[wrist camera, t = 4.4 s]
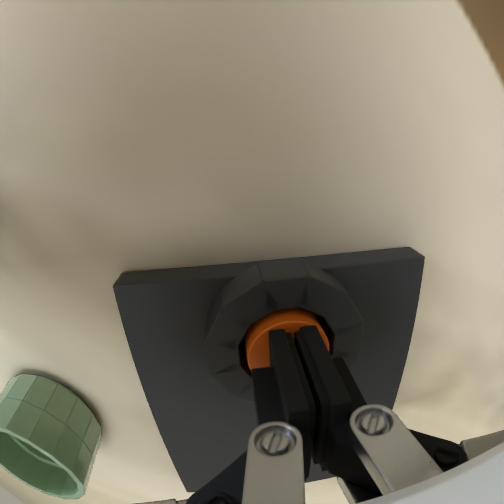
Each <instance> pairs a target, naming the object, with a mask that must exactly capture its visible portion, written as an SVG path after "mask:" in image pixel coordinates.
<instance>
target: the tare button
mask: <svg viewBox="0 0 504 504" xmlns="http://www.w3.org/2000/svg"><path fill="white" fill-rule="evenodd" d="M312 325H316V327H317V328H318V331H319V333H320V335H321V337H322V339H323V341H324V343H325V345H326V347H327V349H328V351H329V342H328V339H327V336H326V335H325V333H324V331H323V329H322V327H321V325H320V323H319V321H318V319H317V317H316V315H315V313H313V312H310V311H308V310H305V309H303V308H291V309H282V310H274V311H272V312H271V313H269V314H267V315H266V316H264V317H263V318H261V319H259V320H258V321H256V322H254V323H253V324H251V325H250V326H249V328H248V330H247V332H246V333H245V335H244V336H245V345H246V353H247V361H248V366H249V368H250V370H251V369H254V368H263V367H270V355H269V331H270V330H279V329H284V330H285V333H288V332H291V335H292V338H293V340H294V333H295V332H296V331H299V330H300V327H304V326H312Z"/></svg>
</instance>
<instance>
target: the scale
mask: <svg viewBox="0 0 504 504" xmlns="http://www.w3.org/2000/svg"><path fill="white" fill-rule="evenodd" d="M424 258H425V257H424V256H423V255H421V254H420V253H418V252H417V251H415V250H414V249H412V248H410V247H404V248H394V249H384V250H374V251H363V252H353V253H342V254H332V255H321V256H311V257H300V258H289V259H278V260H267V261H256V262H244V263H233V264H221V265H210V266H198V267H186V268H174V269H162V270H150V271H137V272H125V273H122V274H121V275H120V277H119V278H118V279H117V281H116V282H115V284H114V285H113V288H114V293H115V297H116V301H117V304H118V308H119V312H120V316H121V320H122V323H123V327H124V330H125V334H126V337H127V341H128V344H129V347H130V350H131V354H132V357H133V360H134V363H135V366H136V369H137V372H138V375H139V378H140V381H141V384H142V387H143V390H144V392H145V395H146V398H147V401H148V403H149V406H150V409H151V411H152V414H153V416H154V419H155V422H156V424H157V427H158V429H159V431H160V434H161V436H162V439H163V441H164V443H165V446H166V448H167V450H168V453H169V455H170V457H171V459H172V461H173V464H174V466H175V468H176V470H177V472H178V474H179V476H180V479H181V481H182V483H183V485H184V487H185V489H186V491H187V492H196V491H198V490H199V489H200V488H202V487H203V486H204V485H206V484H207V483H208V482H209V481H211V480H212V479H213V478H214V477H216V476H217V475H218V474H219V473H221V472H222V471H223V470H224V469H225V468H227V467H228V466H229V465H230V464H231V463H233V462H234V461H235V460H236V459H237V458H238V457H240V456H241V455H242V454H243V453H244V452H245V451H246V450H248V441H249V437H250V434H251V433H252V431H253V430H254V429H255V428H256V427H258V426H257V418H256V411H255V403H254V394H253V384H252V372H251V370H250V368H249V366H248V361H247V353H246V345H245V336H244V335H245V333H246V332H247V330H248V328H249V326H250V325H251V324H253V323H254V322H256V321H258V320H259V319H261V318H263V317H264V316H266V315H267V314H269V313H271V312H272V311H274V310H282V309H291V308H303V309H305V310H308V311H310V312H313V313H315V315H316V317H317V319H318V321H319V323H320V325H321V327H322V329H323V331H324V333H325V335H326V336H327V339H328V342H329V353H330V355H331V357H332V358H336V357H342V358H343V359H344V361H345V363H346V365H347V367H348V369H349V370H350V372H351V374H352V376H353V378H354V380H355V382H356V384H357V386H358V388H359V390H360V392H361V394H362V395H363V397H364V399H365V401H366V403H367V405H368V404H379V405H383V406H386V407H388V408H390V409H391V410H392V409H393V406H394V402H395V399H396V396H397V392H398V389H399V385H400V382H401V378H402V374H403V370H404V366H405V363H406V358H407V354H408V350H409V346H410V341H411V337H412V332H413V327H414V322H415V317H416V311H417V306H418V300H419V294H420V288H421V281H422V274H423V266H424ZM332 477H336V476H335V475H333V474H331V473H329V472H328V471H323V472H322V470H321V467H320V464H314V462H313V459H312V457H311V464H310V472H309V477H308V478H307V479H306V480H305V482H304V483H306V482H312V481H317V480H322V479H327V478H332Z"/></svg>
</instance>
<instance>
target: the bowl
mask: <svg viewBox="0 0 504 504" xmlns="http://www.w3.org/2000/svg"><path fill="white" fill-rule="evenodd" d="M100 441H101V427H100V425H99V424H98V422H97V420H96V418H95V416H94V414H92V412H91V411H90V409H89V408H88V406H87V405H86V404H85V403H84V402H83V401H82V400H81V399H80V398H79V397H78V396H77V395H76V394H74V393H73V392H72V391H70V390H69V389H68V388H66V387H65V386H63V385H61V384H59V383H58V382H55V381H53V380H51V379H48V378H45V377H42V376H37V375H28V374H21V375H18V376H16V377H14V378H12V379H11V380H10V381H9V382H8V384H7V385H6V387H5V388H4V390H3V391H2V393H1V394H0V466H2V467H3V468H4V469H5V470H6V471H7V472H9V473H10V474H11V475H12V476H14V477H15V478H17V479H19V480H20V481H22V482H23V483H25V484H26V485H28V486H30V487H32V488H34V489H36V490H38V491H41V492H43V493H45V494H48V495H51V496H54V497H58V498H62V499H79V498H80V497H82V496H83V495H85V492H86V489H87V485H88V481H89V478H90V474H91V471H92V468H93V464H94V461H95V457H96V454H97V451H98V448H99V444H100Z"/></svg>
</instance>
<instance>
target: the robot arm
mask: <svg viewBox="0 0 504 504" xmlns="http://www.w3.org/2000/svg"><path fill="white" fill-rule="evenodd" d="M269 355H270V367H263V368H254V369H251V372H252V384H253V394H254V403H255V411H256V418H257V426H258V427H256V428H255V429H254V430H253V431H252V433H251V434H250V437H249V441H248V450H246V451H245V452H244V453H243V454H242V455H241V456H240V457H238V458H237V459H236V460H235V461H234V462H233V463H231V464H230V465H229V466H228V467H227V468H225V469H224V470H223V471H222V472H221V473H219V474H218V475H217V476H216V477H214V478H213V479H212V480H211V481H209V482H208V483H207V484H206V485H204V486H203V487H202V488H200V489H199V490H198V491H196V492H195V493H194V494H193V495H192V496H191V497H190V498H189V499H186V500H180V501H176V500H175V499H169V500H162V501H154V502H145V503H135V504H305V486H304V482H305V480H306V479H307V478H308V477H309V472H310V464H311V457H312V459H313V462H314V464H320V467H321V470H322V472H323V471H328V472H329V473H331V474H333V475H335V476H337V481H338V484H339V486H340V487H341V489H342V491H343V493H344V495H345V497H346V498H347V500H348V502H349V504H504V430H502V431H499V432H495V433H492V434H488V435H484V436H480V437H476V438H472V439H468V440H463V441H461V443H460V444H456V443H454V442H451V441H448V440H444V439H441V438H437V437H434V436H430V435H427V434H423V433H420V432H417V431H413V430H410V429H408V428H407V427H406V426H405V425H404V424H403V422H402V421H401V420H400V419H399V418H398V416H397V415H396V414H395V413H394V412H393V411H392V410H391V409H390V408H388V407H386V406H383V405H379V404H368V405H367V403H366V401H365V399H364V397H363V395H362V394H361V392H360V390H359V388H358V386H357V384H356V382H355V380H354V378H353V376H352V374H351V372H350V370H349V369H348V367H347V365H346V363H345V361H344V359H343V358H342V357H336V358H332V357H331V355H330V353H329V351H328V349H327V347H326V345H325V343H324V341H323V339H322V337H321V335H320V333H319V331H318V328H317V327H316V325H312V326H304V327H300V330H299V331H296V332H295V333H294V340H293V338H292V335H291V332H288V333H285V330H284V329H279V330H270V331H269Z"/></svg>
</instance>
